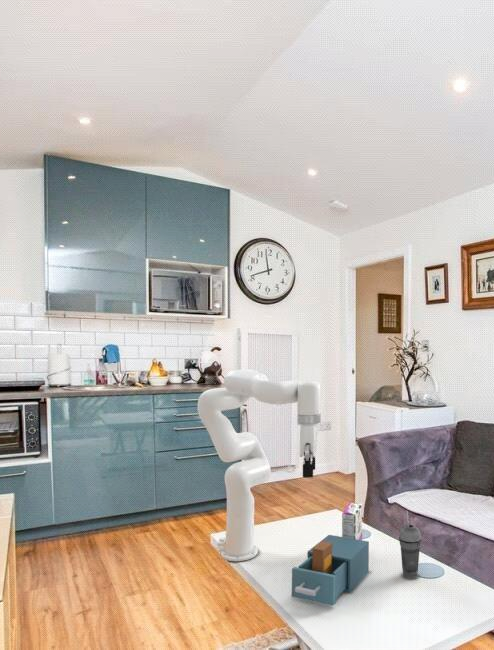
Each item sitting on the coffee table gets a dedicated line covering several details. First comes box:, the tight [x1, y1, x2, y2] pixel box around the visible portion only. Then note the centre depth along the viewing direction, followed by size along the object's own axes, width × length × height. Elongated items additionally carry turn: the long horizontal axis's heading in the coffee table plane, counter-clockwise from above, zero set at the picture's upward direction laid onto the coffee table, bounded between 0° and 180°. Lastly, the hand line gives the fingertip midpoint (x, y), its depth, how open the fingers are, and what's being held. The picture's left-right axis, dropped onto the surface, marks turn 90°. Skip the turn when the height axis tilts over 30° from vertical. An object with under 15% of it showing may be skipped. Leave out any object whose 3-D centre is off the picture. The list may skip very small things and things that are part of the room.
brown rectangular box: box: [312, 540, 332, 574], centre depth 145 cm, size 4×6×12 cm, turn 158°
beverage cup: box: [398, 510, 422, 580], centre depth 157 cm, size 7×7×20 cm
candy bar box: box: [341, 502, 363, 540], centre depth 171 cm, size 11×5×16 cm, turn 168°
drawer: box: [291, 555, 348, 607], centre depth 143 cm, size 18×13×8 cm
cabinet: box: [307, 534, 370, 594], centre depth 155 cm, size 15×15×10 cm
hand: (309, 473), depth 158 cm, fingers open, 9 cm apart
